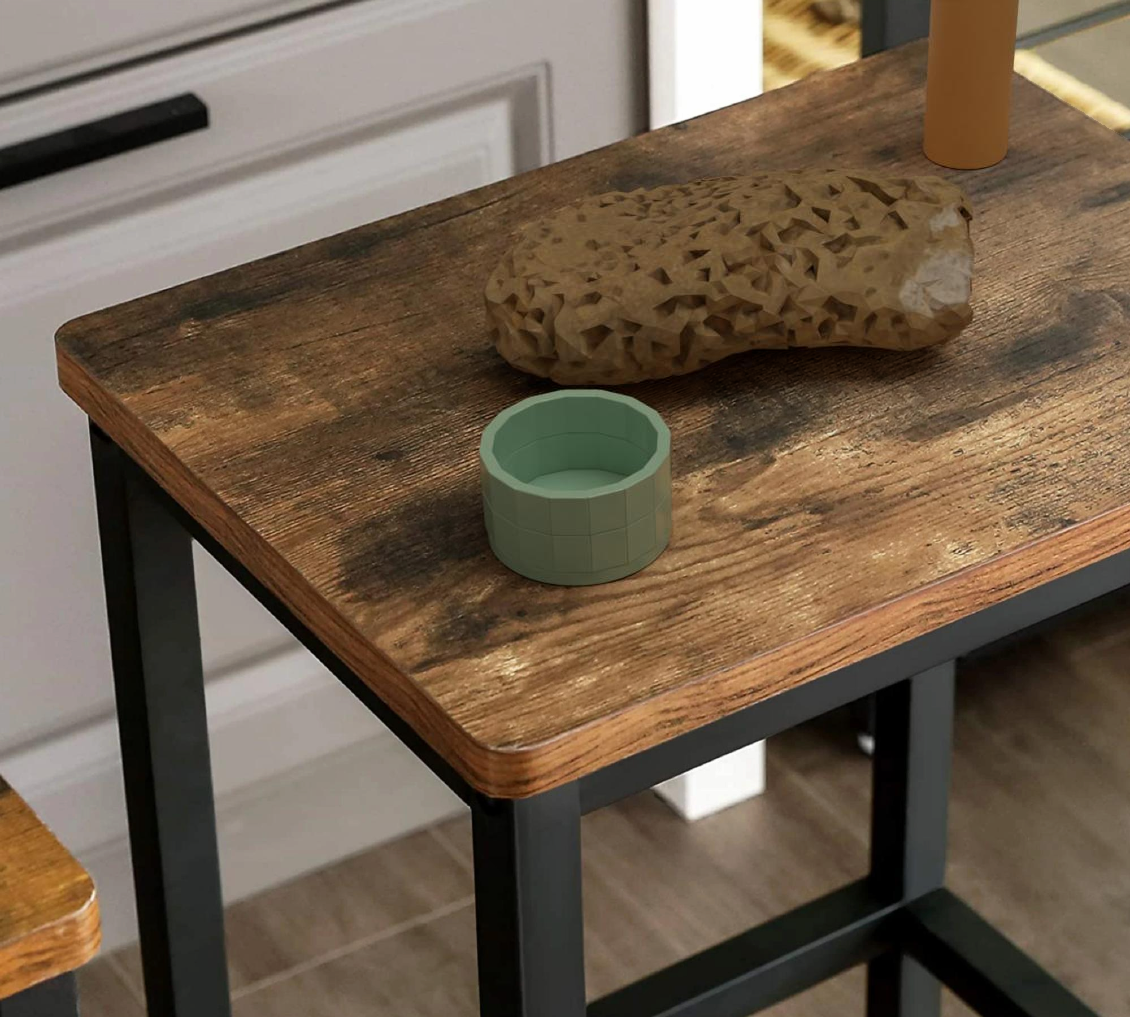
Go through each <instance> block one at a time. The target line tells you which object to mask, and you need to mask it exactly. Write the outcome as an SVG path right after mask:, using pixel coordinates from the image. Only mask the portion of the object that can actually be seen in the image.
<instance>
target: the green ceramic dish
mask: <svg viewBox="0 0 1130 1017" xmlns="http://www.w3.org/2000/svg"><path fill="white" fill-rule="evenodd" d="M672 453H673V452H672V432H671V430H670V428H669V426H668V425H667V424H666V421H665V420H664V419H663V417H662V416H661V414H659V412H658V411H657V410H655V409H654V408H652V407H650V406H648V405H647V404H646V403H644V402H641V401H640V400H638V399H636V398H634V397H632V396H629V395H625V394H621V393H616V392H611V391H608V390H604V389H559V390H556V391H551V392H547V393H542V394H538V395H533V396H529V397H527V398H525V399H522V400H520V401H519V402H516V403H515V404H513V405H511V406H509V407H507V408H505V409H503V410H501V411H500V412H499V413H498V414H497V415H496V416H495V417H494V418H493V419H492V420H491V421H490V423H489V424H488V425H487V426H486V427H485V428H484V429H483V431H482V432H481V437H480V443H479V449H478V462H479V472H480V473H479V474H480V482H481V484H480V485H481V494H482V506H483V516H484V517H483V518H484V526H485V528H486V532H487V540H488V544H489V546H490V549H491V551H492V552H493V554H494V555H495V557H496V558H497V559H498V560H499V561H500V562H501V563H502V564H503V565H505V566H506V567H507V568H508V569H510V570H511V571H513V572H515V573H516V574H518V575H521V576H523V577H525V578H528V579H531V580H534V581H537V582H540V583H544V584H550V585H558V586H575V587H577V586H591V585H600V584H604V583H609V582H614V581H617V580H620V579H623V578H625V577H628V576H630V575H633V574H635V573H638V572H639V571H641V570H643V569H644V568H646V567H647V566H649V565H650V564H652V563H653V562H654V561H656V559H658V558H659V557H660V555H661V554H662V553H663V552H665V549H666V548H667V547H668V545H669V543H670V541H671V537H672V534H673V528H674V524H673V520H674V519H673V511H674V510H673V509H674V496H673V494H674V491H673V490H674V489H673V456H672V455H673V454H672Z"/></svg>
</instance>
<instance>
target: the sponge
mask: <svg viewBox="0 0 1130 1017" xmlns="http://www.w3.org/2000/svg"><path fill="white" fill-rule="evenodd" d="M973 206H974V205H973V202H972V201H971V199H970V197H969V196H968V194H967V193H966V191H965V190H964V188H962V187H961V186H958V185H956V184H955V183H952V182H951V181H947V180H945V179H944V178H941V177H939V176H937V175H922V176H921V175H919V176H917V175H913V176H909V177H900V176H892V175H890V174H888V173H879V172H876V171H875V170H874V169H871V168H870V169H862V168H859V167H851V166H846V167H845V166H841V167H832V168H828V167H826V168H821V167H807V168H806V167H805V168H796V169H789V170H786V169H772V168H771V169H766V170H758V171H757V170H756V171H753V172H752V173H749V174H746V175H745V174H742V173H736V174H729V175H722V176H707V177H704V178H697V179H692V180H689V181H688V182H684V183H675V184H667V185H659V186H658V187H656V188H653V189H651V190H647V189H645V188H644V187H643V186H641V187H639V188H636V189H634V190H632V191H630V192H624V191H616V190H613V191H610V192H606V193H602V194H598V195H595V196H592V197H589V198H586V199H584V200H581V201H579V202H576V203H574V204H570V205H569V206H567V207H565V209H563V210H562V211H560V212H559V213H554V214H551V215H546V216H545V217H541V218H540V219H538V220H536V221H535V222H533V223H531V224H530V225H528V226H526V227H524V228H523V229H522V238H521V241H520V243H518V244H516V245H515V246H514V245H509V246H508V247H507V249H506V250H505V253H504V254H503V256H501V259H500V260H499V262H498V265H497V267H496V268H495V270H494V271H493V273H492V274H491V276H489V279H488V280H487V283H486V284H485V286H484V289H482V298H483V303H484V307H485V311H486V312H485V318H484V327H483V331H484V332H485V334H486V335H487V336H488V338H489V339H490V340H491V341H492V344H494V347H495V349H496V351H497V353H498V354H499V355H500V356H502V357H503V359H505V360H506V361H507V362H508V363H509V364H510V365H511V367H513V368H514V369H515V370H519V371H522V372H524V373H526V374H532V375H535V376H537V377H539V378H550V379H551V381H552V382H554V383H557V384H558V385H560V386H561V385H562V386H581V385H582V386H592V385H593V386H594V385H598V386H599V385H601V386H602V385H604V386H607V385H608V386H618V385H625V384H626V385H627V384H638V383H641V382H643V381H646V380H659V379H665V378H668V377H670V376H677V377H680V376H683V375H687V374H690V373H693V372H696V371H699V370H700V371H701V370H702V369H704V368H705V367H707V366H709V365H710V364H713V363H716V362H718V361H720V360H722V359H725V358H727V357H729V356H730V355H734V354H741V353H745V352H747V351H751V350H773V349H774V350H789V347H790V346H791V347H795V348H796V347H807V349H813V348H820V347H821V348H822V347H842V346H843V347H845V346H846V347H866V348H879V349H880V348H881V349H885V350H893V351H899V352H912V351H914V350H918V349H922V348H926V347H928V346H933V345H935V344H939V345H940V346H942V347H945V346H946V345H948V344H949V343H951V342H952V341H953V340H955V339H956V338H958V337H959V336H960V335H961V333H962V332H963V330H965V329H966V328H967V327H968V326H969V325H970V324H971V323H972V322H973V320H974V309H973V308H972V306H971V305H970V303H969V302H968V301H969V300H970V298H971V295H972V292H973V282H972V281H973V280H972V276H974V274H975V257H976V256H975V248H974V243H973V240H972V238H971V235H970V234H971V233H970V232H971V230H970V222H971V221H973V220H974V211H973V210H974V208H973Z"/></svg>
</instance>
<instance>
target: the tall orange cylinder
mask: <svg viewBox="0 0 1130 1017" xmlns="http://www.w3.org/2000/svg"><path fill="white" fill-rule="evenodd" d="M1019 3H1020V0H930V11H929V12H930V13H929V15H930V16H929V31H928V32H929V33H928V51H927V52H928V53H927V67H926V68H927V70H926V71H927V73H926V88H925V109H924V128H923V144H922V146H923V147H922V148H923V149H922V150H923V153H924V155H925V156H926V157H927V159H929V160H930V161H931V162H933V163H935V164H937V165H939V166H943V167H946V168H951V169H959V170H976V169H982V168H984V169H985V168H988V167H990V166H994V165H996V164H998V163H1000V162H1001V161H1002V160H1004V158H1005V157H1006V156H1007V153H1008V145H1009V132H1010V119H1011V118H1010V117H1011V107H1012V96H1013V94H1012V93H1013V80H1014V67H1015V54H1016V42H1017V30H1018V16H1019Z"/></svg>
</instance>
